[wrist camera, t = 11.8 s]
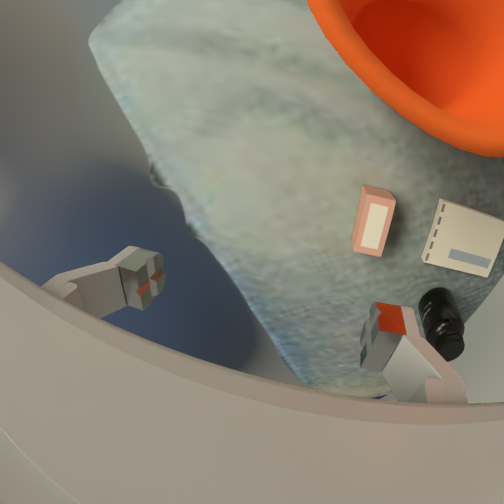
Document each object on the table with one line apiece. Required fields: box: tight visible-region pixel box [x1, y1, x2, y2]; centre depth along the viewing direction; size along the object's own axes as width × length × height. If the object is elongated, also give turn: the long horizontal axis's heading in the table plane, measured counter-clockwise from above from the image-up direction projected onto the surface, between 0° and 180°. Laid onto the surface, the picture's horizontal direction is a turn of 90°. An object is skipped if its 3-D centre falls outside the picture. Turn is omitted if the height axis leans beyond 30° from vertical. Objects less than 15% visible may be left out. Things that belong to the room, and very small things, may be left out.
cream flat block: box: [421, 198, 504, 277], centre depth 33 cm, size 14×10×2 cm
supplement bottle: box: [419, 288, 465, 362], centre depth 35 cm, size 7×7×12 cm
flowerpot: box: [307, 0, 504, 158], centre depth 16 cm, size 25×25×20 cm
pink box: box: [352, 185, 396, 257], centre depth 35 cm, size 4×8×5 cm, turn 176°
